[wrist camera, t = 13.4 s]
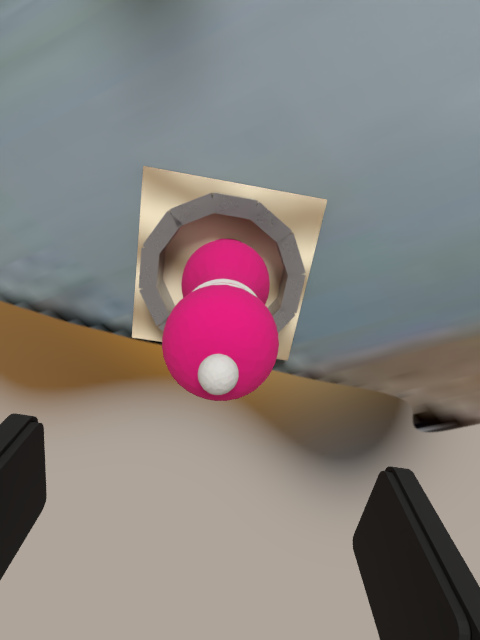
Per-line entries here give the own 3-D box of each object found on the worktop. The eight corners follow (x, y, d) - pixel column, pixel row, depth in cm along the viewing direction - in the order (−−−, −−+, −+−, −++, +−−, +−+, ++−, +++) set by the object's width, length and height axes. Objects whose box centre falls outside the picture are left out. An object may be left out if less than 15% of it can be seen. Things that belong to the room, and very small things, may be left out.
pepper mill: (176, 289, 34) (105, 420, 15) (206, 218, 31) (167, 269, 13) (244, 319, 35) (256, 475, 16) (279, 253, 33) (338, 346, 14)
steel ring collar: (154, 180, 30) (146, 180, 27) (313, 209, 31) (321, 212, 29) (142, 329, 35) (134, 342, 32) (280, 350, 36) (284, 364, 33)
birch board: (147, 166, 31) (143, 165, 30) (323, 199, 32) (327, 199, 31) (135, 331, 37) (131, 337, 36) (285, 353, 38) (287, 360, 37)
